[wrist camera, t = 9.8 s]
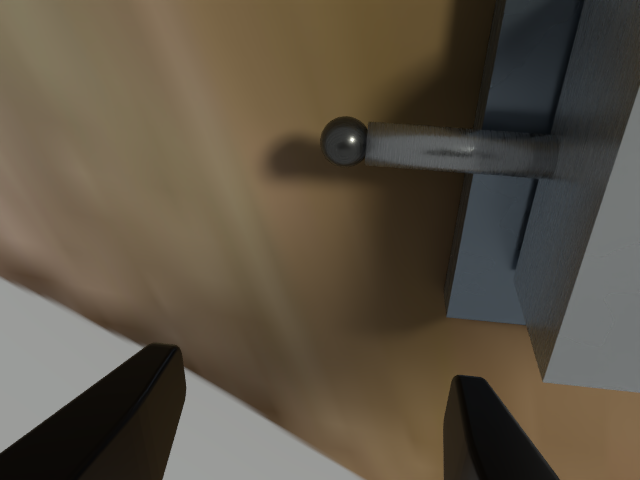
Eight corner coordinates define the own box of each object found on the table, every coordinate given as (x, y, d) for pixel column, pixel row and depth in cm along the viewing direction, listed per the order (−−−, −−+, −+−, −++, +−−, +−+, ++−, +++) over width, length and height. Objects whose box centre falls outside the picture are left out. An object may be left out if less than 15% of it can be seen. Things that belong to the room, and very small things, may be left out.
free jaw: (695, -24, 13) (816, 11, 10) (589, 285, 18) (641, 393, 14) (329, -41, 14) (302, -15, 10) (318, 260, 19) (297, 355, 15)
